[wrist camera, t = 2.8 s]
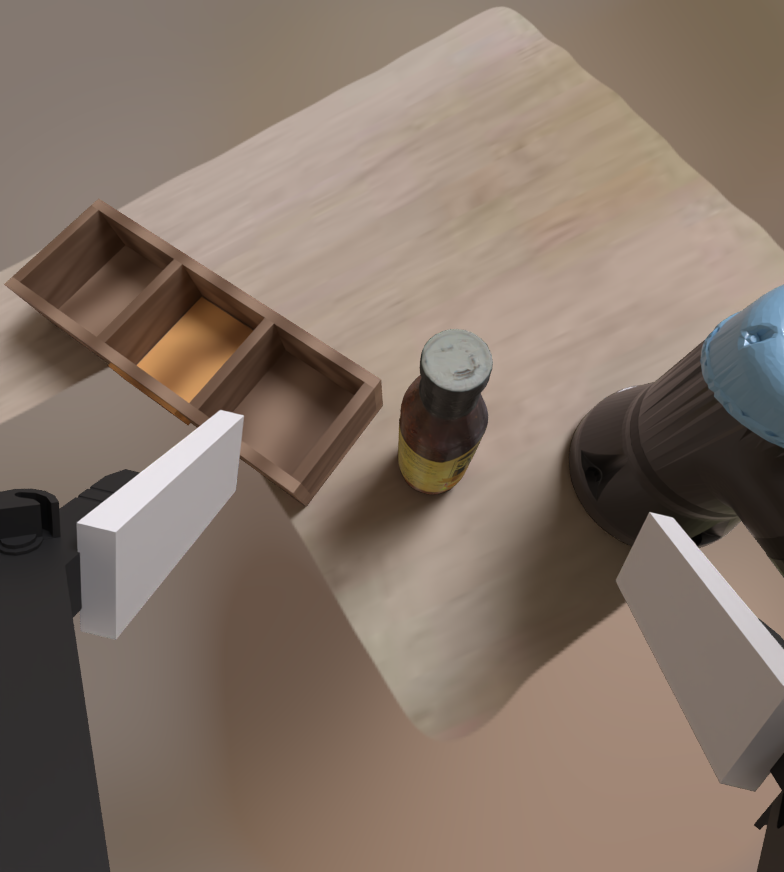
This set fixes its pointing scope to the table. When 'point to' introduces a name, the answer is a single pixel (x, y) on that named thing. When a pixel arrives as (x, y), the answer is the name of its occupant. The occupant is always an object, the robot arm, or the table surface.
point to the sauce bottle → (444, 411)
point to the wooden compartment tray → (202, 346)
